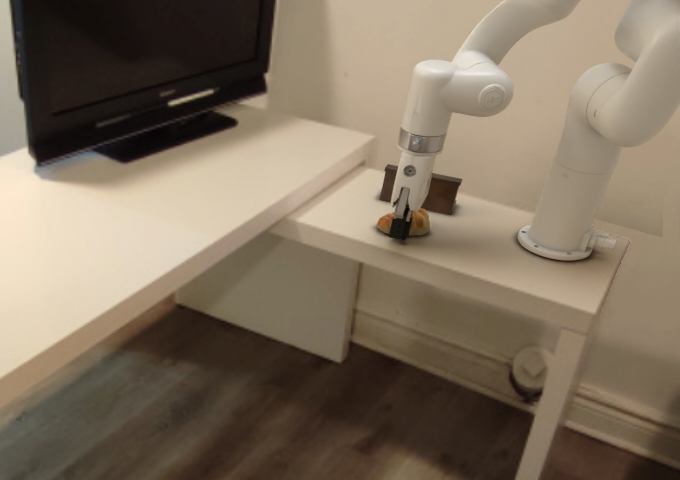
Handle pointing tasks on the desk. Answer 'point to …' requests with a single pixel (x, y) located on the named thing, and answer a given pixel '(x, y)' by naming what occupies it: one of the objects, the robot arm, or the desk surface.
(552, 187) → the robot arm
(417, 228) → the pastry
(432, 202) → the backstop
